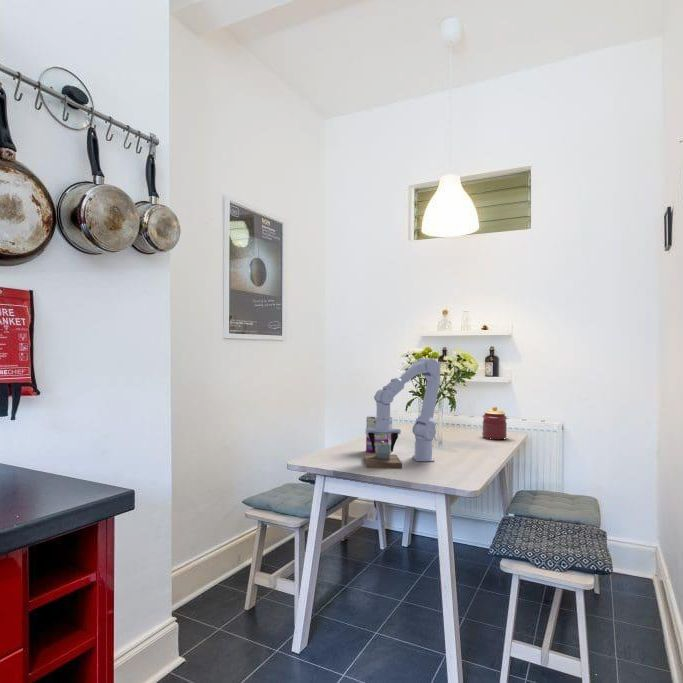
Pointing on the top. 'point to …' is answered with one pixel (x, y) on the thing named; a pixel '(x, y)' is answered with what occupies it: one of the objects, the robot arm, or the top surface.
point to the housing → (382, 451)
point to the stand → (382, 462)
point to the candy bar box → (378, 437)
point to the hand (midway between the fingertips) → (382, 451)
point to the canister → (494, 424)
